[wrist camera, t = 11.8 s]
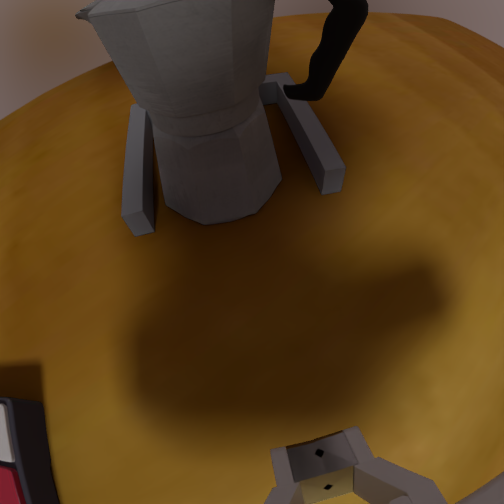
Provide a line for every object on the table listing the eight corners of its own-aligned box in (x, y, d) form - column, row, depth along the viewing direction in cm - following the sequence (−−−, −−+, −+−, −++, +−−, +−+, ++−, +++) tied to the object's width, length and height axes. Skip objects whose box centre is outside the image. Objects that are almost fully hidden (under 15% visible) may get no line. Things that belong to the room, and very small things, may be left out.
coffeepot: (121, 219, 22) (4, -1, 7) (163, 135, 27) (107, -49, 11) (336, 244, 20) (396, -70, 4) (338, 146, 25) (360, -73, 9)
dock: (135, 236, 22) (121, 216, 19) (138, 124, 28) (131, 105, 26) (340, 191, 22) (346, 167, 20) (287, 93, 29) (287, 72, 27)
